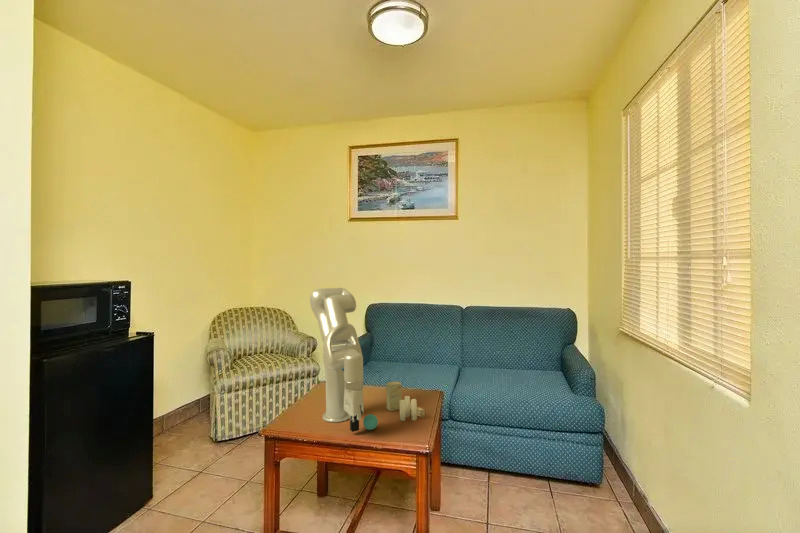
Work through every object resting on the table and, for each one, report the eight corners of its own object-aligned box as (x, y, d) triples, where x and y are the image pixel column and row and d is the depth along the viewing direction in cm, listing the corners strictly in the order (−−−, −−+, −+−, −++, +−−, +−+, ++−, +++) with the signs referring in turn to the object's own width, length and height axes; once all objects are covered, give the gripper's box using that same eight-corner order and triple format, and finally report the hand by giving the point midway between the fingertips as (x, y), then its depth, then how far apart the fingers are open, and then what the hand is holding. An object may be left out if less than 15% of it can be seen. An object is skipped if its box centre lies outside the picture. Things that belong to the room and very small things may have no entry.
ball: (360, 428, 153) (360, 414, 153) (373, 425, 157) (373, 410, 157) (367, 433, 148) (367, 418, 148) (380, 430, 152) (380, 415, 152)
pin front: (398, 419, 162) (398, 400, 162) (403, 418, 163) (403, 399, 163) (402, 421, 160) (401, 401, 160) (406, 420, 161) (406, 400, 161)
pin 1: (403, 415, 166) (403, 396, 166) (408, 414, 168) (407, 395, 168) (406, 417, 164) (406, 398, 164) (411, 415, 166) (411, 396, 166)
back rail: (406, 409, 174) (406, 402, 174) (409, 408, 174) (409, 402, 174) (422, 417, 164) (421, 410, 164) (424, 416, 164) (424, 410, 164)
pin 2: (410, 419, 162) (409, 399, 162) (414, 417, 163) (414, 398, 164) (413, 421, 160) (413, 401, 160) (417, 419, 161) (417, 400, 162)
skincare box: (389, 411, 171) (389, 385, 171) (386, 408, 175) (385, 382, 175) (402, 409, 174) (401, 383, 174) (398, 406, 178) (398, 380, 178)
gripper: (338, 381, 153) (338, 425, 153) (352, 391, 140) (353, 440, 140) (354, 378, 157) (355, 421, 157) (370, 387, 144) (371, 435, 144)
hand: (354, 430), depth 149 cm, fingers closed
